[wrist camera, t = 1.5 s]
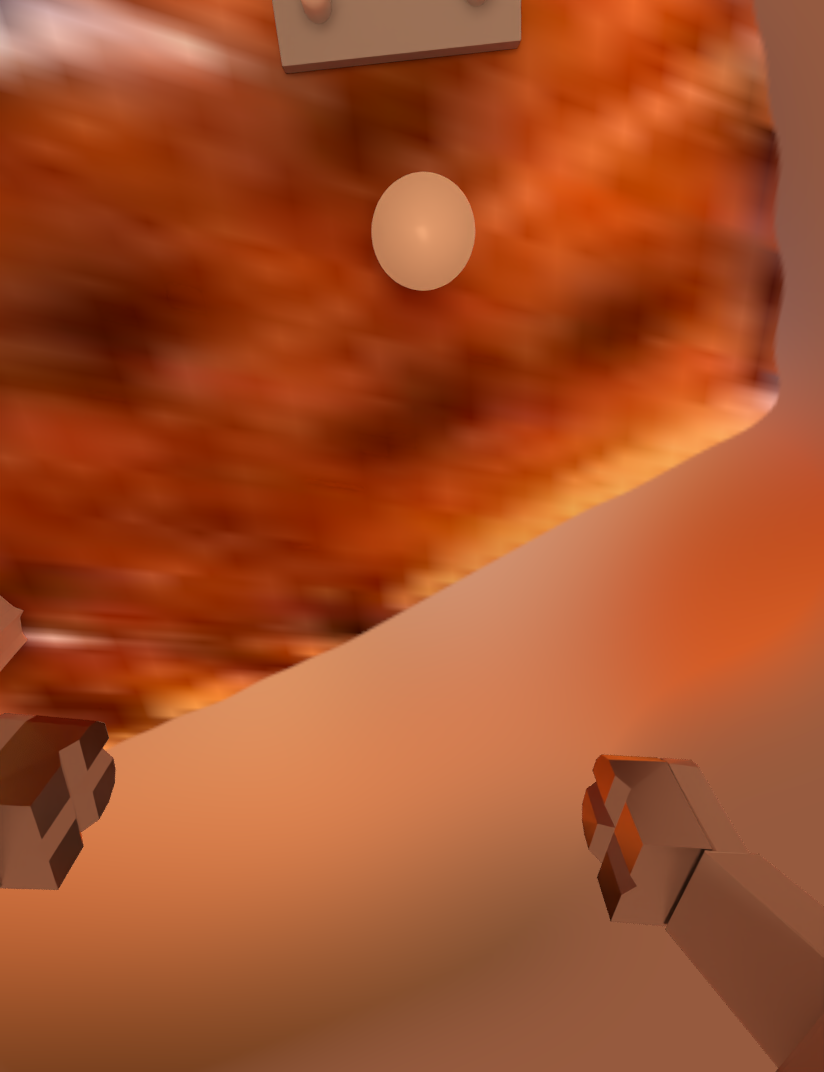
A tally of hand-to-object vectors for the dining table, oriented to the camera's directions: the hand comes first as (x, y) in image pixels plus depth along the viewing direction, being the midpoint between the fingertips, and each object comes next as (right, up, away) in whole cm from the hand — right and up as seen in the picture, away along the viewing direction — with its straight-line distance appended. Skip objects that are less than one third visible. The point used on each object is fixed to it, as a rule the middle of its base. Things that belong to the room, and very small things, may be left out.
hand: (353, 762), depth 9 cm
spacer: (+1, +24, +28) cm, 36 cm away
